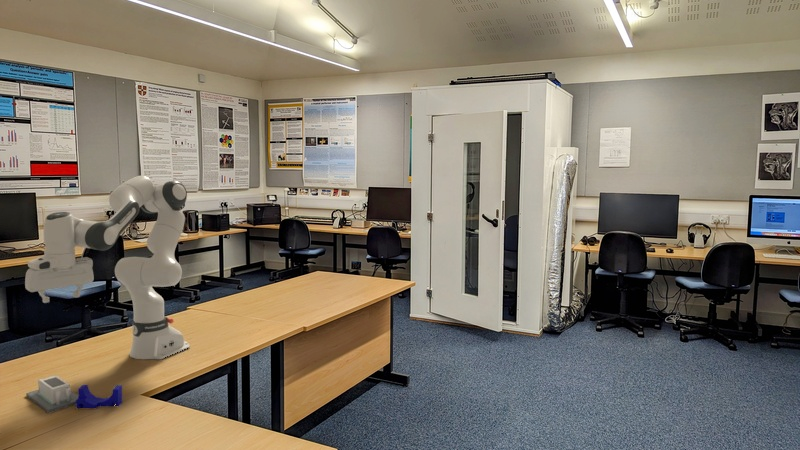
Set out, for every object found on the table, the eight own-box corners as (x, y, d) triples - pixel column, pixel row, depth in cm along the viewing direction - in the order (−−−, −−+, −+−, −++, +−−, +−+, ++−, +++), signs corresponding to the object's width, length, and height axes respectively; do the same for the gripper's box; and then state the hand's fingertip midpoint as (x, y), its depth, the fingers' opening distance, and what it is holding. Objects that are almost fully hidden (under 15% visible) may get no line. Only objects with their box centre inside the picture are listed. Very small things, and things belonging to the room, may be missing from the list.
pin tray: (60, 386, 180) (59, 372, 179) (83, 401, 170) (82, 387, 169) (26, 396, 172) (25, 381, 171) (48, 413, 162) (47, 397, 161)
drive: (56, 388, 175) (56, 375, 175) (70, 397, 170) (69, 384, 169) (39, 393, 171) (39, 379, 171) (52, 403, 166) (52, 389, 165)
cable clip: (76, 409, 166) (75, 391, 165) (83, 402, 170) (83, 384, 169) (116, 409, 167) (115, 391, 166) (122, 402, 171) (121, 385, 170)
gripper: (88, 254, 189) (89, 292, 191) (22, 262, 172) (23, 303, 174) (96, 257, 185) (97, 295, 187) (29, 266, 169) (31, 307, 171)
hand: (61, 299), depth 181 cm, fingers open, 8 cm apart
